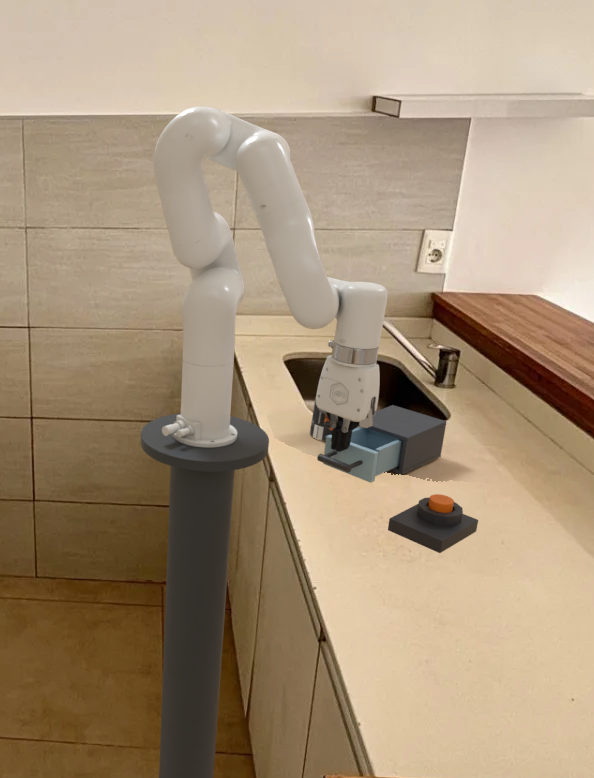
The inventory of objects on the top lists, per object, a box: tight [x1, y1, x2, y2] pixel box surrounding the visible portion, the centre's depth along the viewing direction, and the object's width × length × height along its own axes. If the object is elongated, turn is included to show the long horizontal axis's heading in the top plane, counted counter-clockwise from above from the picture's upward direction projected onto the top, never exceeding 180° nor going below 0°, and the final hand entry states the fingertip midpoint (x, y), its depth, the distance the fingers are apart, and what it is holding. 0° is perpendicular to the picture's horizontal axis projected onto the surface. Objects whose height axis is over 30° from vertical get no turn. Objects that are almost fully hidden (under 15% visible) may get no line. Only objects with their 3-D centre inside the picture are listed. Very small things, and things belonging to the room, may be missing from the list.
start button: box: [428, 493, 455, 513], centre depth 124 cm, size 4×4×2 cm
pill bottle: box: [309, 396, 333, 442], centre depth 160 cm, size 6×6×11 cm
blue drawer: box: [316, 427, 403, 484], centre depth 144 cm, size 17×10×6 cm, turn 127°
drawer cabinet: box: [368, 404, 448, 476], centre depth 151 cm, size 14×12×8 cm
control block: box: [387, 496, 479, 554], centre depth 124 cm, size 11×9×4 cm
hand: (339, 448), depth 141 cm, fingers closed
